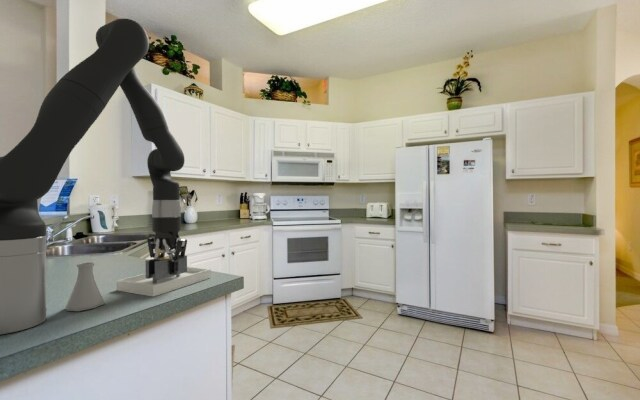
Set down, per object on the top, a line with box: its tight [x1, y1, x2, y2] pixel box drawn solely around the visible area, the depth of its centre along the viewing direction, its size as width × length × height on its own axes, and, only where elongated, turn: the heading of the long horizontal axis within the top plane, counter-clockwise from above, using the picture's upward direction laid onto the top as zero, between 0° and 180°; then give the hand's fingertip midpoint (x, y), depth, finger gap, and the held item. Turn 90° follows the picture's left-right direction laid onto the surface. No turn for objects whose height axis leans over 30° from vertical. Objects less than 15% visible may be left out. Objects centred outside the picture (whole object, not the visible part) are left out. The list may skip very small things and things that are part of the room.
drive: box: [145, 254, 188, 280], centre depth 88 cm, size 10×5×5 cm, turn 157°
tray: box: [115, 266, 211, 297], centre depth 88 cm, size 20×14×4 cm
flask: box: [65, 261, 106, 312], centre depth 69 cm, size 7×7×10 cm
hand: (167, 272), depth 88 cm, fingers closed on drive, 5 cm apart
